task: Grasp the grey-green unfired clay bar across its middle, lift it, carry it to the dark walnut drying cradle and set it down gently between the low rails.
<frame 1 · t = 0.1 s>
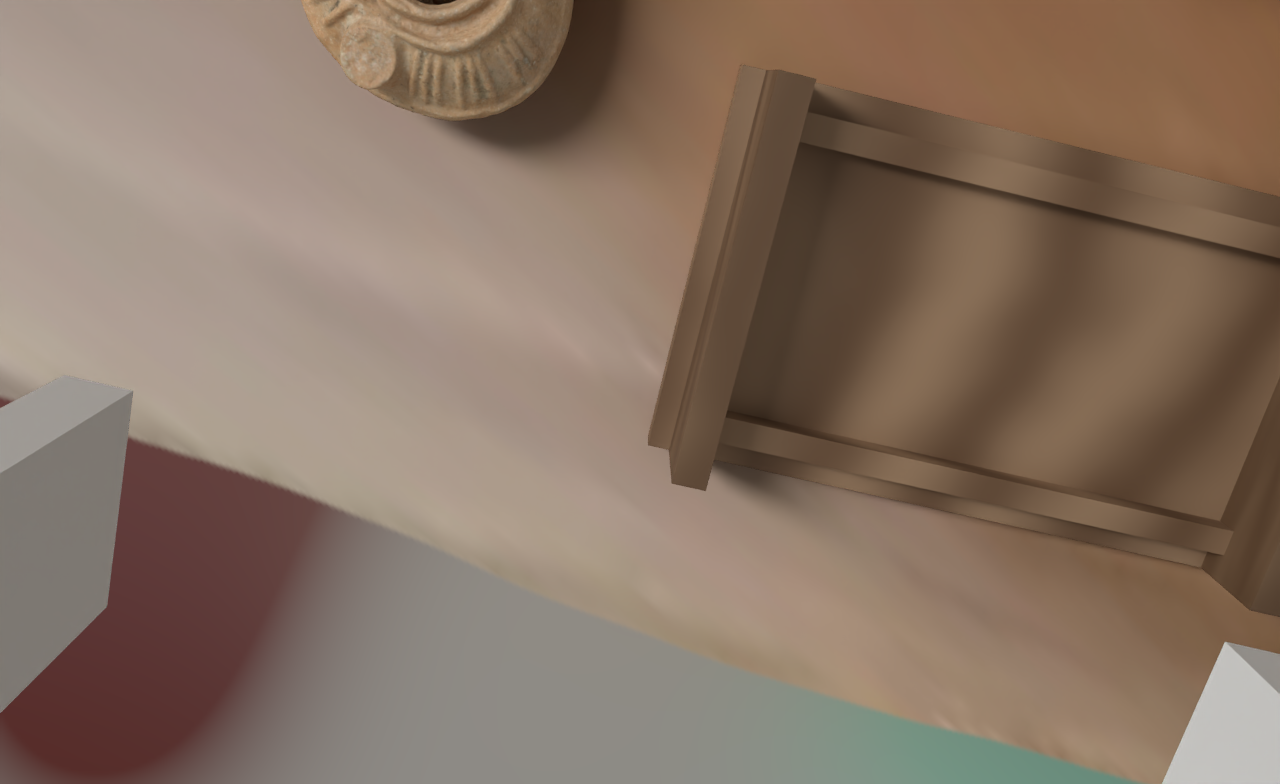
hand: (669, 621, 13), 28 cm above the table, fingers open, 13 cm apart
cradle rack: (1004, 332, 40), on the table
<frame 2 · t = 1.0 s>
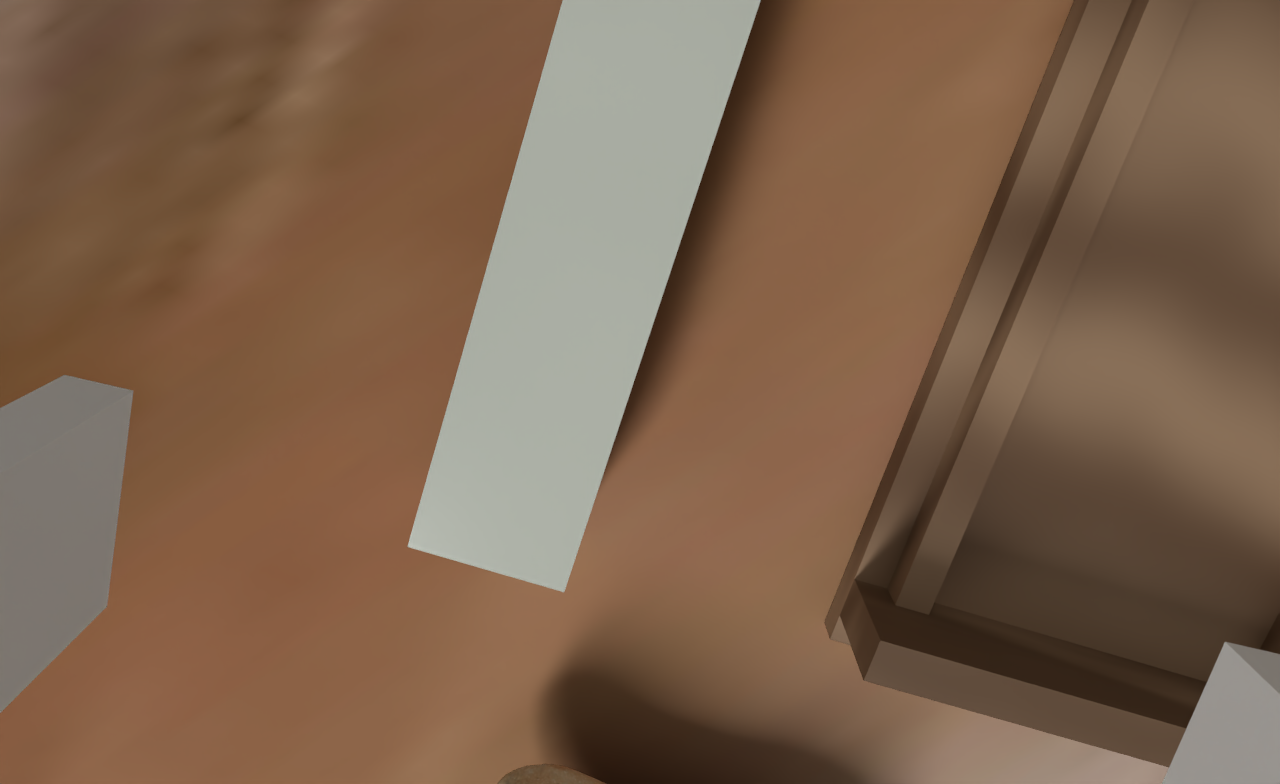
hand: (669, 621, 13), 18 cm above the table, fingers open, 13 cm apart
cradle rack: (1215, 315, 30), on the table
greenware bar: (590, 232, 29), on the table
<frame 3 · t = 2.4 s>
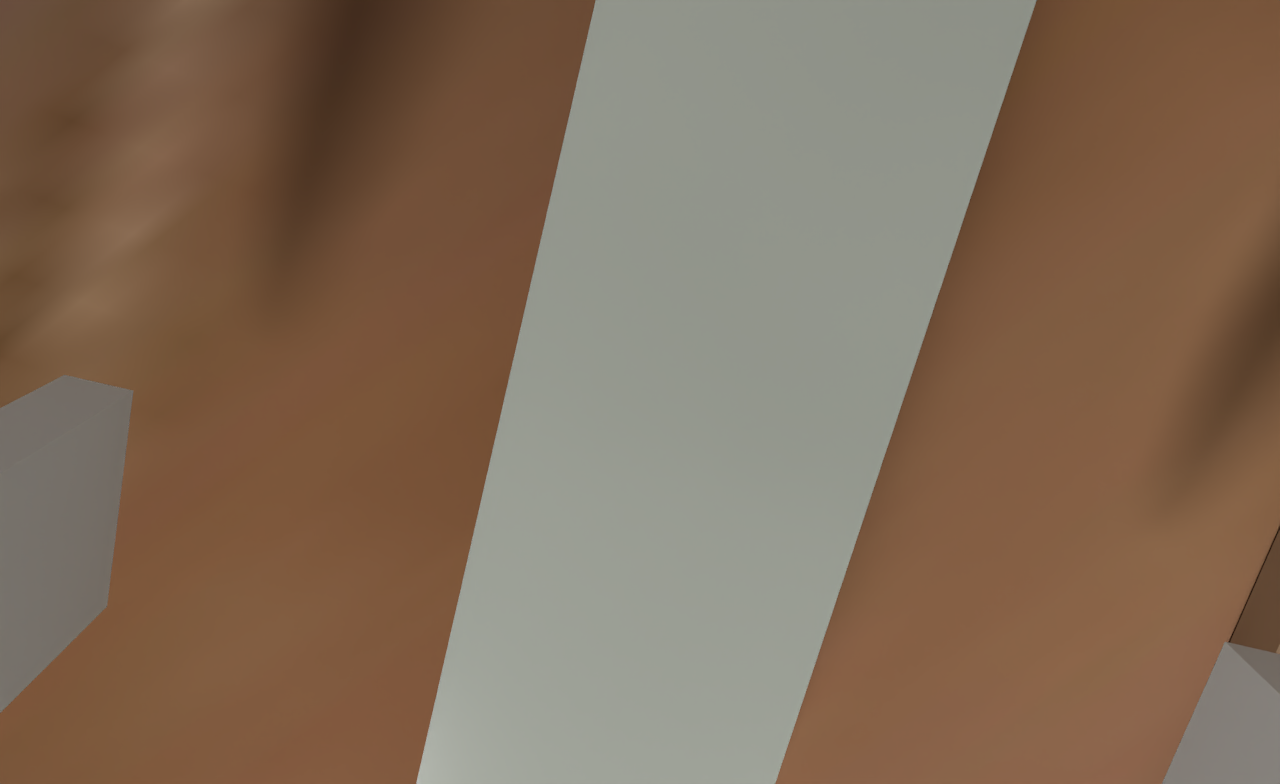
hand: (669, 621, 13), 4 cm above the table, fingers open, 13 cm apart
greenware bar: (627, 492, 17), on the table
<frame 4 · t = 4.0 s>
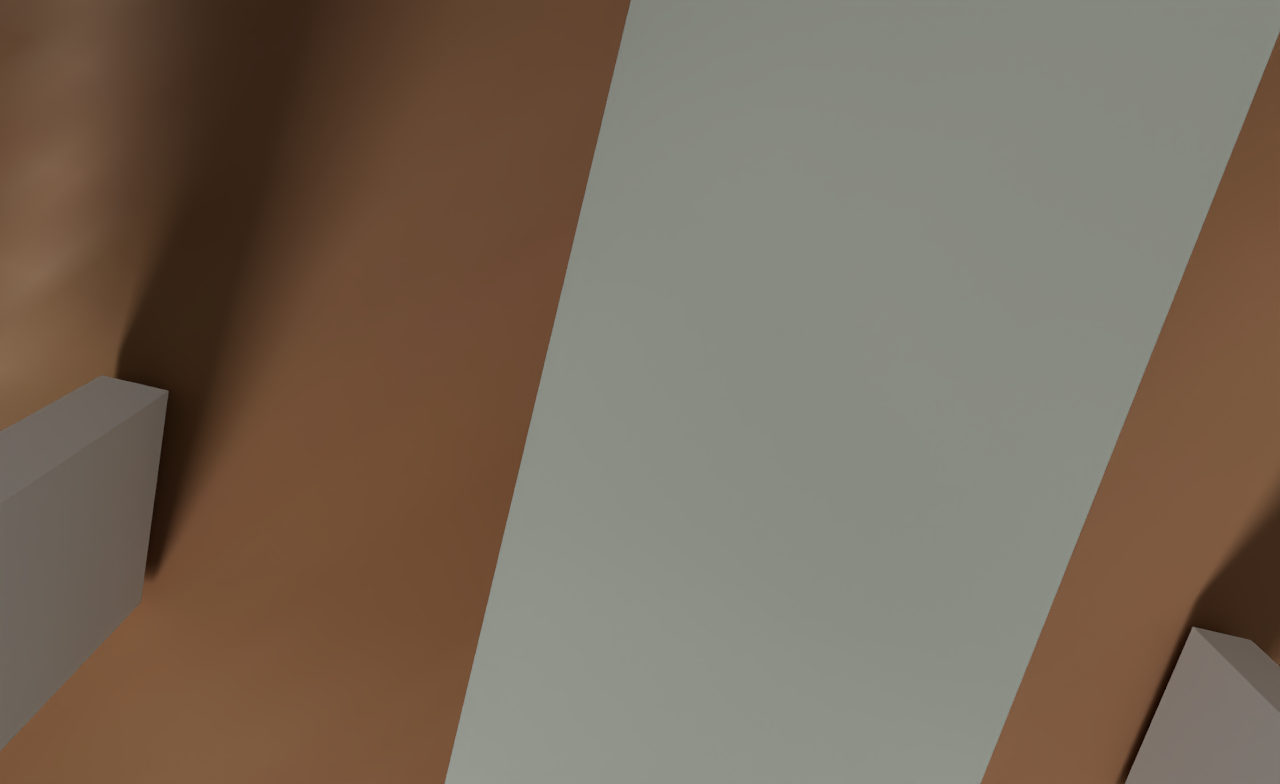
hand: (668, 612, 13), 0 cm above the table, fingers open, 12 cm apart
greenware bar: (665, 596, 13), on the table
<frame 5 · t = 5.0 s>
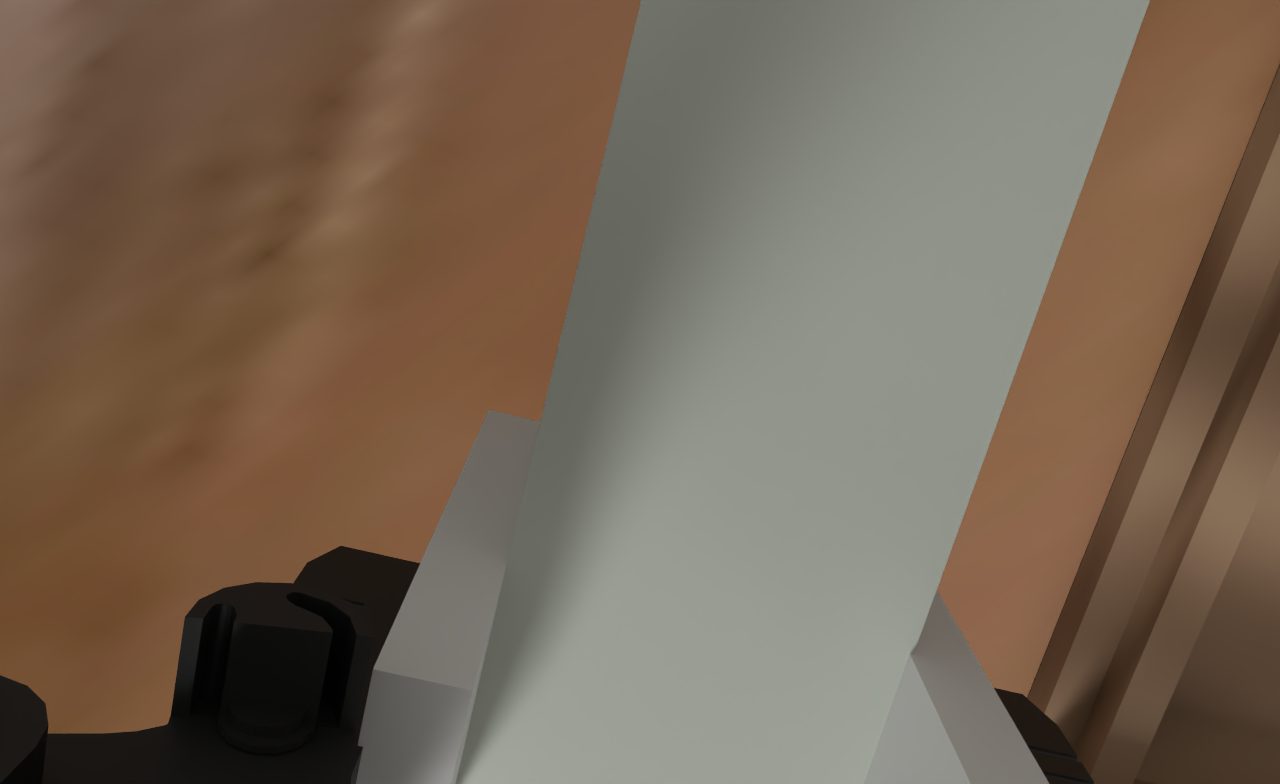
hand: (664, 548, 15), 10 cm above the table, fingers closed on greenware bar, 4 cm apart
greenware bar: (664, 523, 15), point 9 cm above the table, touching gripper
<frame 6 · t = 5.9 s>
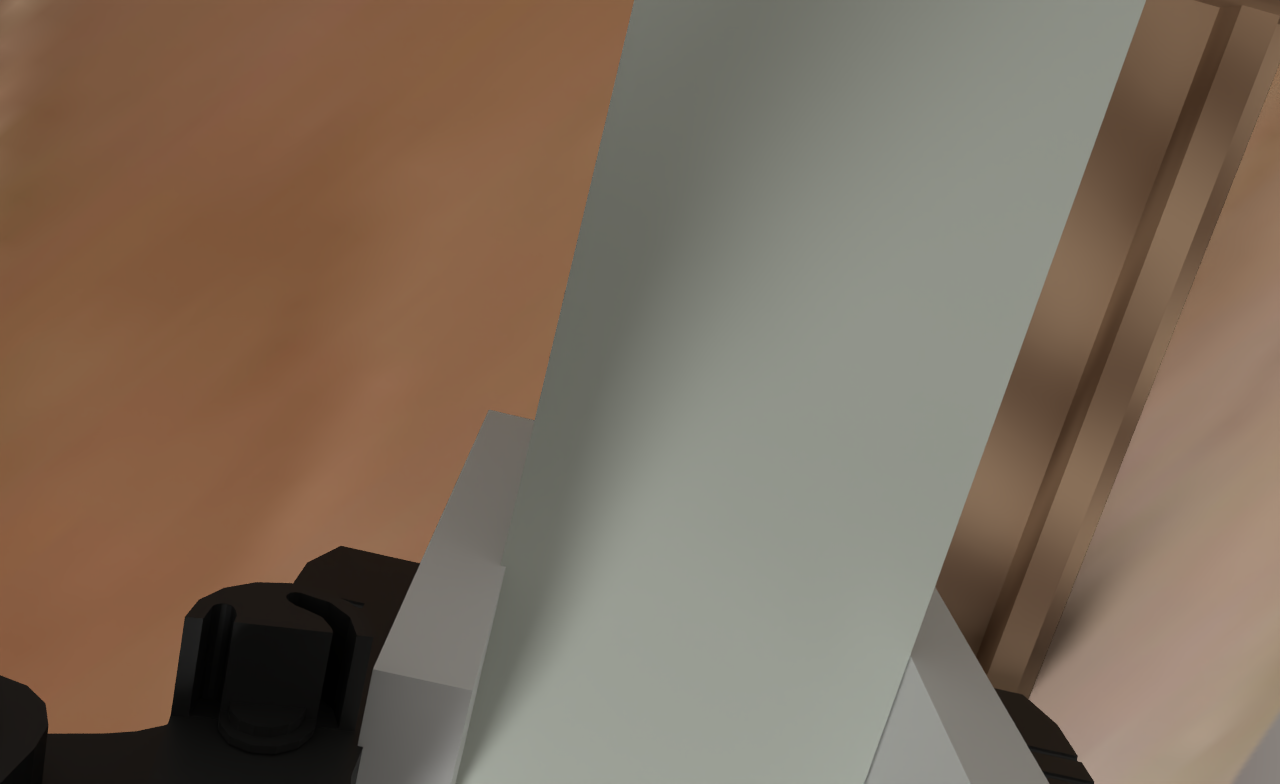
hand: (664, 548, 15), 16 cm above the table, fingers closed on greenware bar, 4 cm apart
cradle rack: (896, 332, 30), on the table
greenware bar: (661, 523, 15), point 15 cm above the table, touching gripper
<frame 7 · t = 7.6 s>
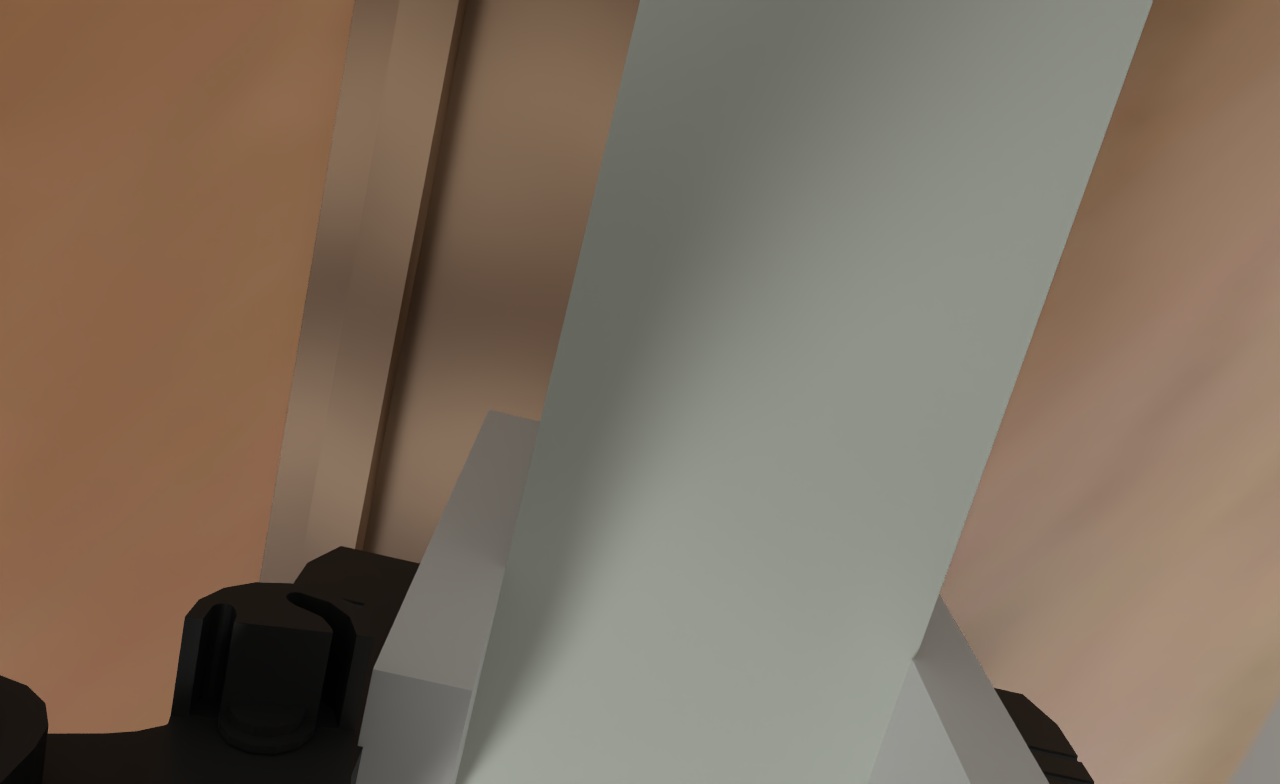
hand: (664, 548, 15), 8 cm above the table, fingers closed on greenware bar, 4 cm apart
cradle rack: (646, 381, 23), on the table
greenware bar: (665, 524, 15), point 8 cm above the table, touching gripper
when the fingers open (2 cm above the table, at t = 9.4 s): greenware bar stays where it is, resting on cradle rack.
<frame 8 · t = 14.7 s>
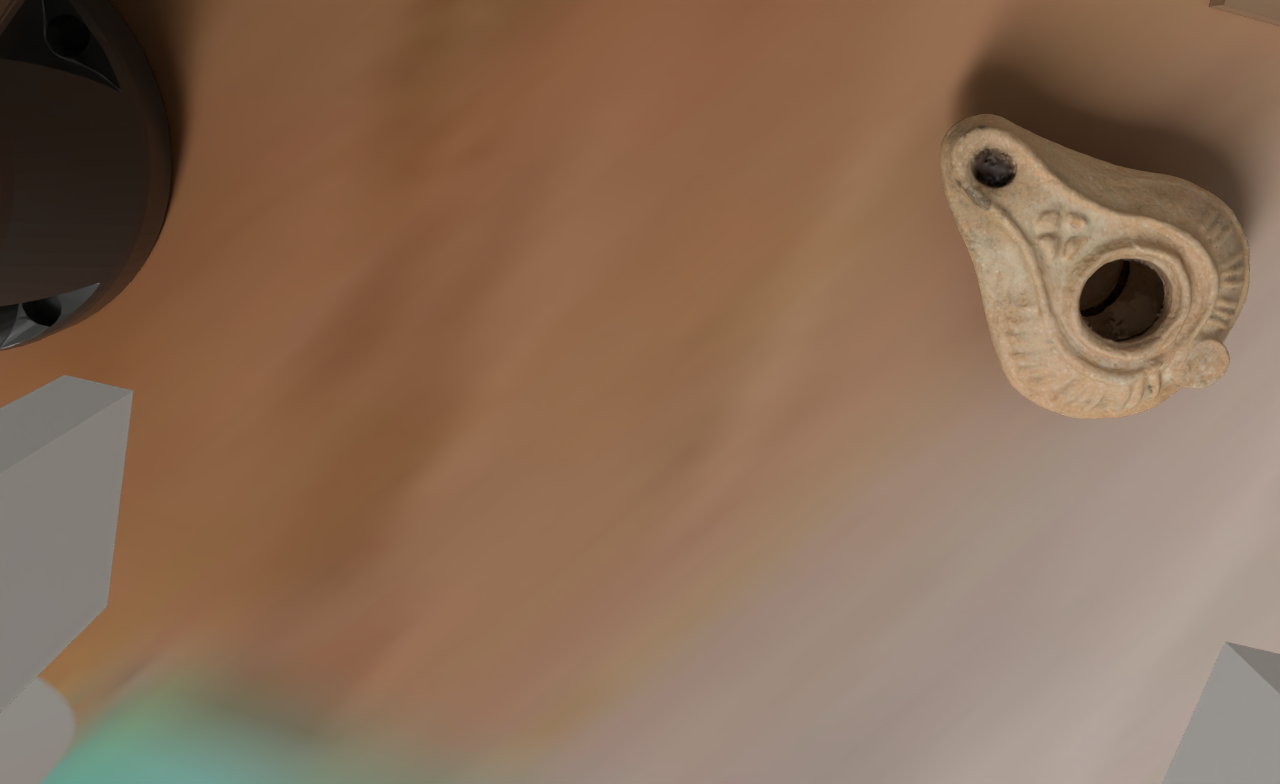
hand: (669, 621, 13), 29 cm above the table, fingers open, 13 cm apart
pottery oil lamp: (1055, 238, 41), on the table
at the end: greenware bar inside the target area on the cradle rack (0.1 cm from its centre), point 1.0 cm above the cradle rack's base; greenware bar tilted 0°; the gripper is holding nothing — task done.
